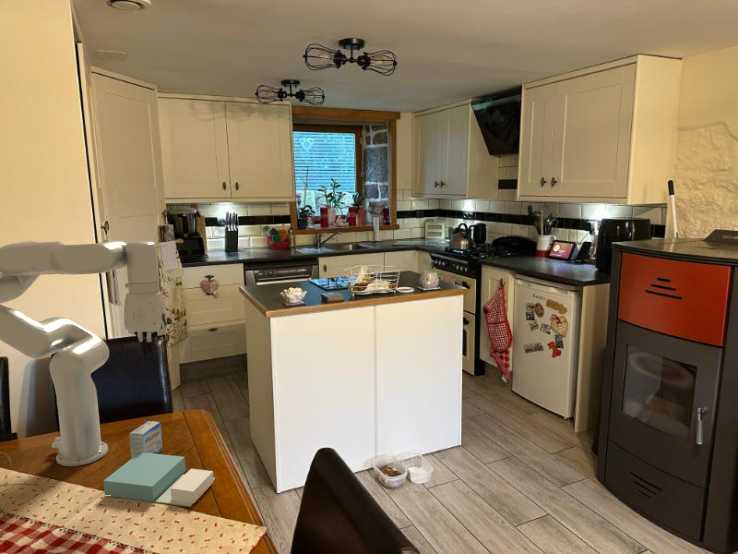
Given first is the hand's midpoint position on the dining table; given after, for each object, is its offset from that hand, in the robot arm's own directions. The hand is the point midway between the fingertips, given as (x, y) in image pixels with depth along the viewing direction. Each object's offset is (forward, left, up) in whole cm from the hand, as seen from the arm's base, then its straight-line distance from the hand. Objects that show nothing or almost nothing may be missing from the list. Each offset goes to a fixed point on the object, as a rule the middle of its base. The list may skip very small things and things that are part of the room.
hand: (148, 354), depth 138 cm
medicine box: (-2, -1, -29) cm, 29 cm away
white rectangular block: (+19, -14, -26) cm, 35 cm away
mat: (+17, -14, -29) cm, 37 cm away
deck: (+6, -13, -29) cm, 32 cm away
